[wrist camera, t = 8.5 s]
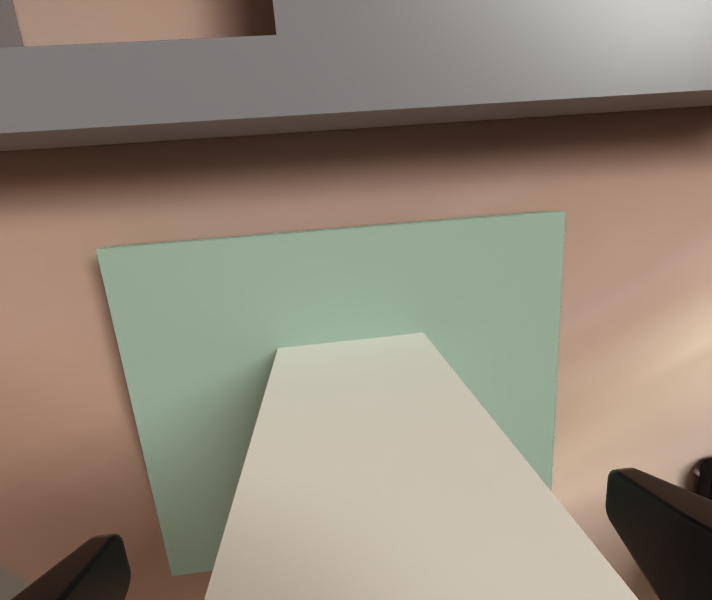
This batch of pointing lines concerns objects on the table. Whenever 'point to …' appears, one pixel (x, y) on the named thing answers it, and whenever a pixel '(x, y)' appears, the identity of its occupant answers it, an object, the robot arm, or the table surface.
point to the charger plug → (393, 491)
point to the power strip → (360, 70)
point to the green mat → (323, 337)
